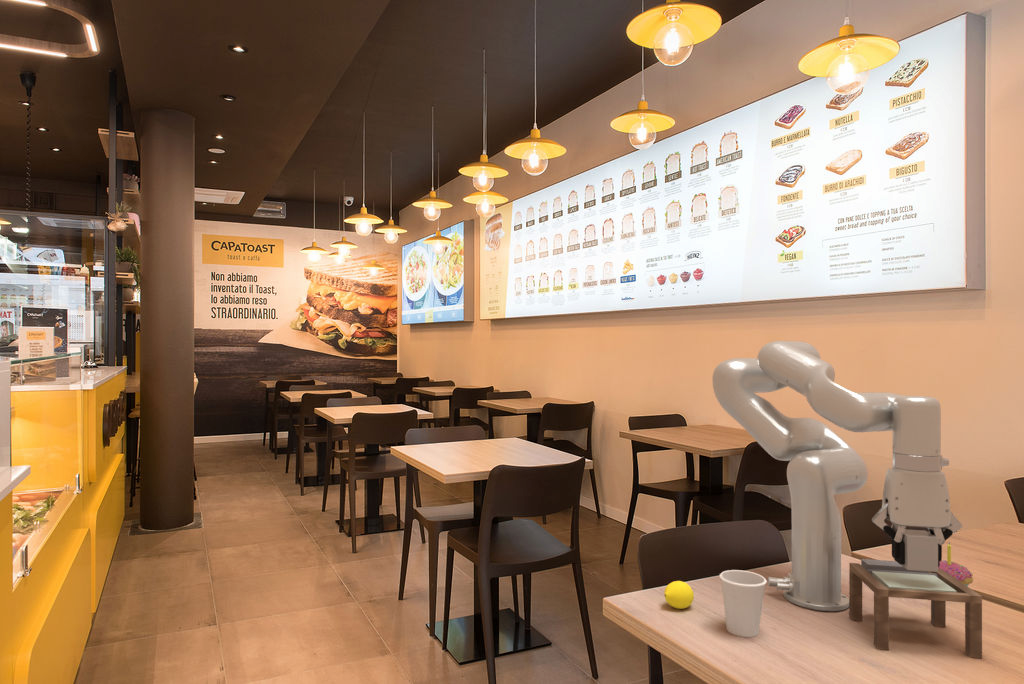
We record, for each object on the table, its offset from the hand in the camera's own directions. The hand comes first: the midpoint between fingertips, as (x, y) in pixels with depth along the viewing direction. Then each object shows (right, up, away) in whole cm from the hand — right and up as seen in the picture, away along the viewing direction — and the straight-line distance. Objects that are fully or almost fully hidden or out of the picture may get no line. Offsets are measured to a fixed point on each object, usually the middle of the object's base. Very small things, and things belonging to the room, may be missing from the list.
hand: (916, 562), depth 118 cm
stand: (0, -14, +2) cm, 14 cm away
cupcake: (+22, -15, +23) cm, 36 cm away
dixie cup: (-30, -14, +3) cm, 34 cm away
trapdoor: (+1, -7, +4) cm, 8 cm away
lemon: (-40, -14, +14) cm, 45 cm away
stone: (0, -1, 0) cm, 1 cm away
